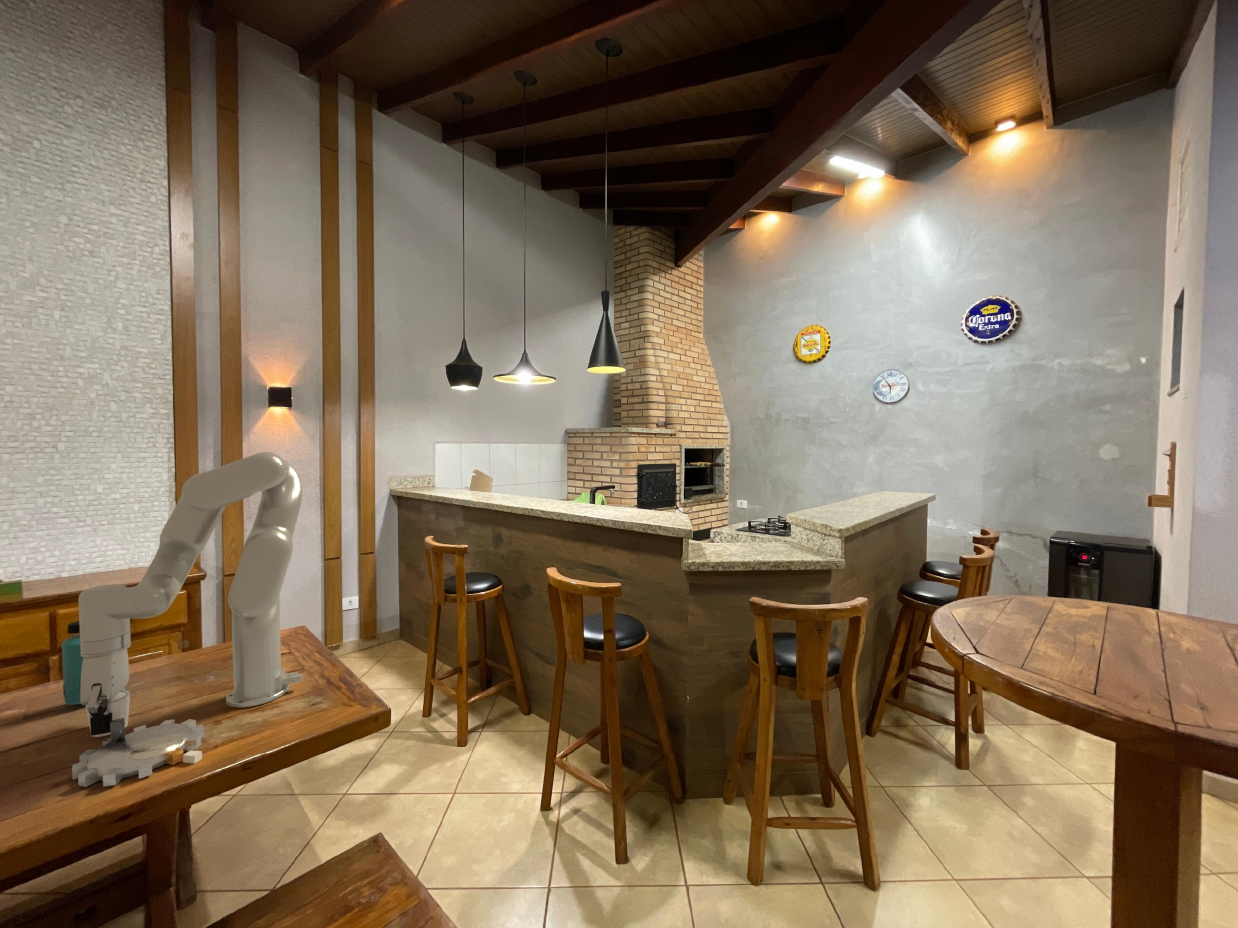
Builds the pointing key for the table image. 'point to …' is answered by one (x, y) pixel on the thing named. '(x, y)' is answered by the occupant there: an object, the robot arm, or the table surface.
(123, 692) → the white cup
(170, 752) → the index wheel
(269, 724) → the table surface
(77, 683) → the beverage bottle
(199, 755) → the block
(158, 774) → the table surface
